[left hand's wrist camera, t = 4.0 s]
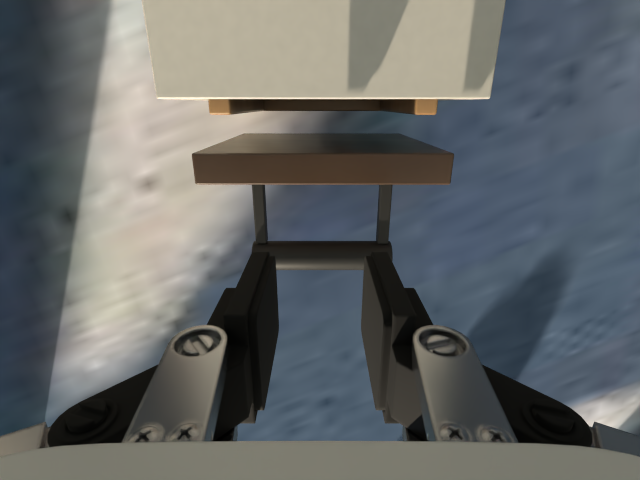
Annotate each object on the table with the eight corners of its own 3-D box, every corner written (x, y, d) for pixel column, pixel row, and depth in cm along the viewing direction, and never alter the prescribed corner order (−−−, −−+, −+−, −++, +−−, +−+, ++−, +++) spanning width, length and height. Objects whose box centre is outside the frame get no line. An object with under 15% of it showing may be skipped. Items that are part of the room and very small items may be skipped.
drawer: (392, 240, 25) (433, 317, 16) (251, 240, 25) (211, 317, 16) (434, -306, 16) (590, -866, 7) (210, -306, 16) (61, -866, 7)
